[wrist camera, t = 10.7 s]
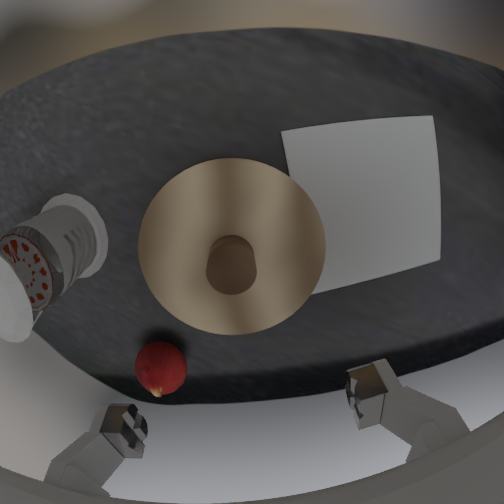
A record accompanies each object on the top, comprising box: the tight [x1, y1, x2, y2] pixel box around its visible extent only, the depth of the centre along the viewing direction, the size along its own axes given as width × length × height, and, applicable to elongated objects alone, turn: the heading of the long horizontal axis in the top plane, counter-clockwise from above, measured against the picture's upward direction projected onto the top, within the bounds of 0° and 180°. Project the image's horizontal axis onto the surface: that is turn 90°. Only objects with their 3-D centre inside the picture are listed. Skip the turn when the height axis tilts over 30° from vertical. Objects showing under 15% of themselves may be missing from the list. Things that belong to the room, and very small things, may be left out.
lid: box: [138, 158, 326, 335], centre depth 23 cm, size 15×15×4 cm
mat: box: [281, 116, 441, 294], centre depth 29 cm, size 17×17×1 cm
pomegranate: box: [135, 341, 187, 397], centre depth 30 cm, size 6×6×8 cm
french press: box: [0, 193, 108, 342], centre depth 17 cm, size 10×12×25 cm
